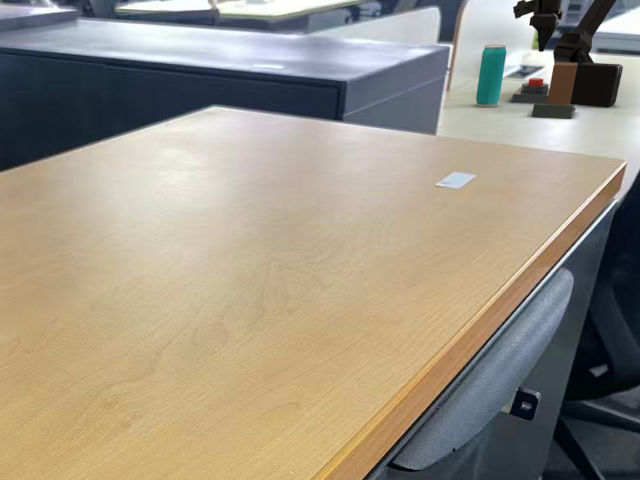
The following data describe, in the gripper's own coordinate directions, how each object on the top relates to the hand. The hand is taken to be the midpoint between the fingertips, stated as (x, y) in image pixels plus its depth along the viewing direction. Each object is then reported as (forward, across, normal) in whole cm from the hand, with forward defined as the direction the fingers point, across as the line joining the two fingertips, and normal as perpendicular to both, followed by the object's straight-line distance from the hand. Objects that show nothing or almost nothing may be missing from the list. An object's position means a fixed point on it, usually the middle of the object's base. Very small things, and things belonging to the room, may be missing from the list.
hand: (541, 51), depth 230 cm
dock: (+12, +24, +7) cm, 28 cm away
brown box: (+12, +16, +8) cm, 21 cm away
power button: (+8, +3, 0) cm, 9 cm away
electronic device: (+12, +8, +15) cm, 21 cm away
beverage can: (+12, +16, -10) cm, 22 cm away
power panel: (+12, +3, 0) cm, 12 cm away
